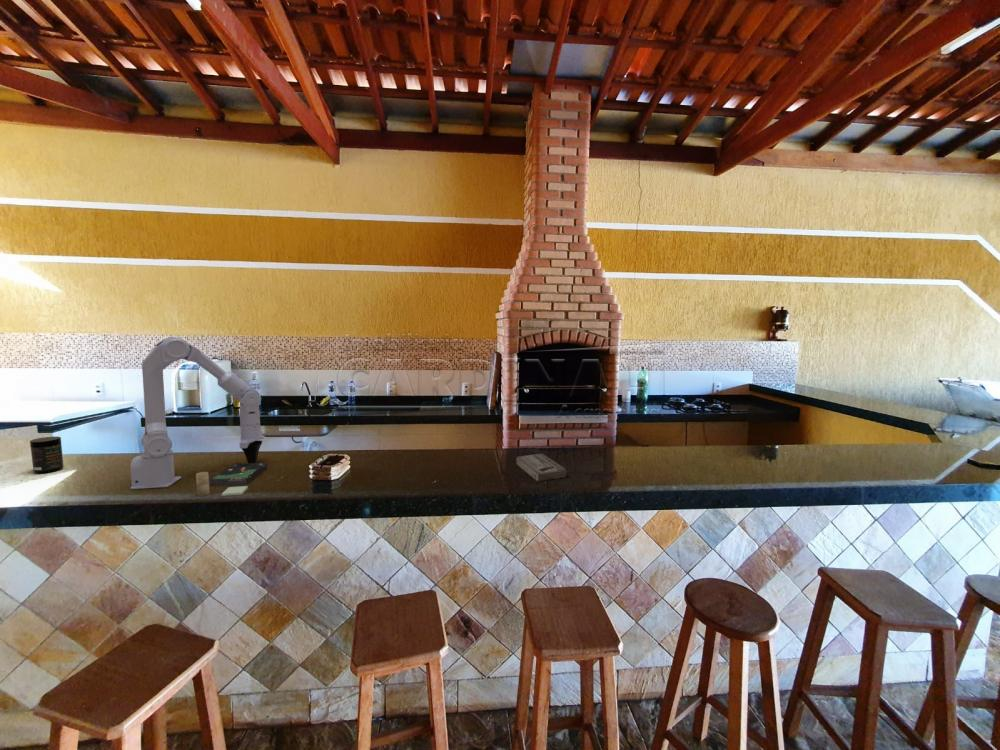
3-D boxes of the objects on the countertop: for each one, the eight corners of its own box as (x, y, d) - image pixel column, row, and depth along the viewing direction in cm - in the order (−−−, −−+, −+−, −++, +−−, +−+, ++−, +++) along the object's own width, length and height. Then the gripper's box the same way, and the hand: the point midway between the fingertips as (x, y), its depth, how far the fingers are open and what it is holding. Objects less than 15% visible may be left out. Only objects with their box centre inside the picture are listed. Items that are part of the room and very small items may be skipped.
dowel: (195, 496, 116) (194, 475, 115) (200, 492, 118) (198, 472, 118) (206, 495, 116) (205, 474, 116) (211, 491, 119) (210, 471, 118)
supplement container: (70, 467, 137) (67, 436, 136) (50, 474, 131) (46, 441, 130) (47, 467, 137) (44, 436, 136) (26, 474, 130) (22, 442, 129)
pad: (221, 495, 116) (221, 493, 116) (228, 489, 121) (228, 487, 121) (241, 494, 117) (241, 492, 117) (248, 487, 122) (247, 485, 122)
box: (542, 460, 151) (542, 452, 151) (567, 477, 135) (567, 468, 135) (515, 464, 147) (515, 456, 147) (538, 483, 131) (538, 473, 131)
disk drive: (234, 471, 138) (209, 487, 123) (234, 463, 138) (209, 478, 123) (267, 470, 139) (247, 486, 125) (267, 462, 139) (246, 477, 124)
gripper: (256, 428, 134) (258, 469, 135) (270, 418, 148) (271, 456, 149) (231, 429, 132) (233, 470, 134) (248, 419, 146) (250, 457, 148)
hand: (252, 463), depth 141 cm, fingers closed
